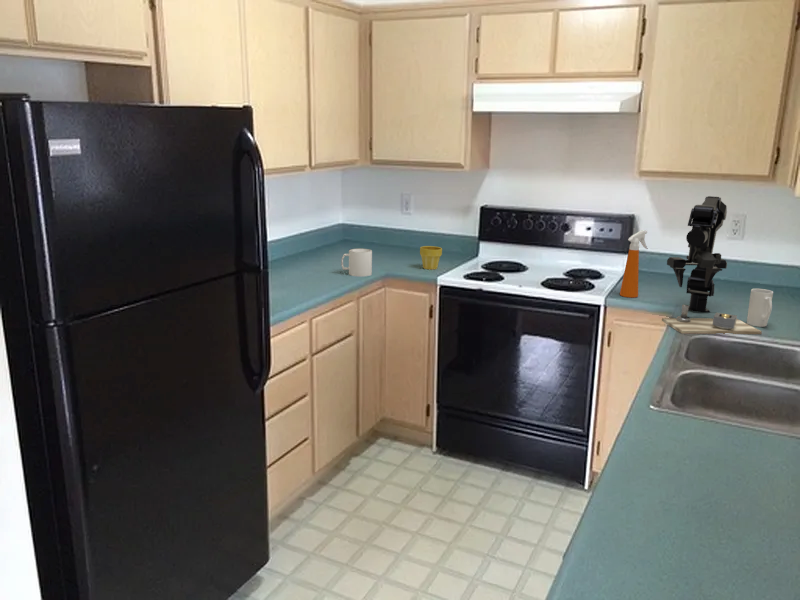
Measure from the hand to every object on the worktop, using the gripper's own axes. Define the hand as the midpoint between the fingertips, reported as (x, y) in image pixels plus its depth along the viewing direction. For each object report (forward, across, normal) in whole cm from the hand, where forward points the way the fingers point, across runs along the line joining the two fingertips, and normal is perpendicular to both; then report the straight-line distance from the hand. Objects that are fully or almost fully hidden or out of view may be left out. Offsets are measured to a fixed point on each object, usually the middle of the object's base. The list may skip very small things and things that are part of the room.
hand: (693, 287), depth 229 cm
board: (+12, +3, -8) cm, 15 cm away
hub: (+11, +6, -12) cm, 17 cm away
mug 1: (+12, -117, +71) cm, 138 cm away
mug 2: (+12, +22, -6) cm, 26 cm away
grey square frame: (+10, +6, -12) cm, 17 cm away
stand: (+12, -4, -4) cm, 13 cm away
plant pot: (+12, -83, +85) cm, 120 cm away
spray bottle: (+12, -6, +36) cm, 38 cm away
